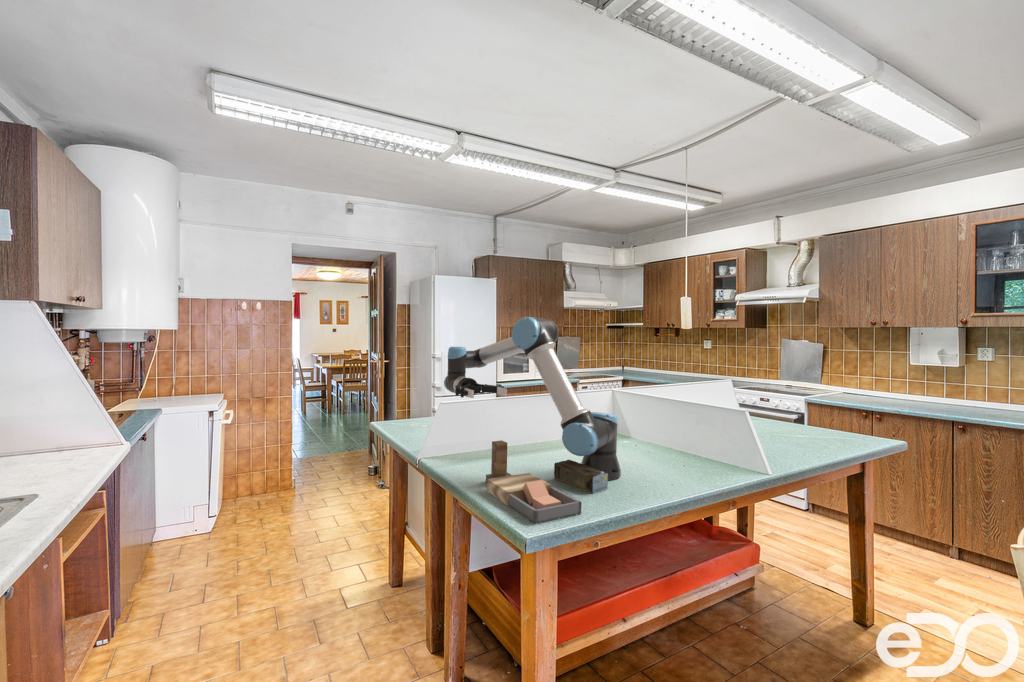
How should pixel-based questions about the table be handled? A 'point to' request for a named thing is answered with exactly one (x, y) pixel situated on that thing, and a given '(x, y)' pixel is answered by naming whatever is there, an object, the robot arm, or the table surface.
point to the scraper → (498, 460)
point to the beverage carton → (581, 476)
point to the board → (512, 486)
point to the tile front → (545, 502)
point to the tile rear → (534, 490)
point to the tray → (545, 514)
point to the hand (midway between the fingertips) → (489, 393)
